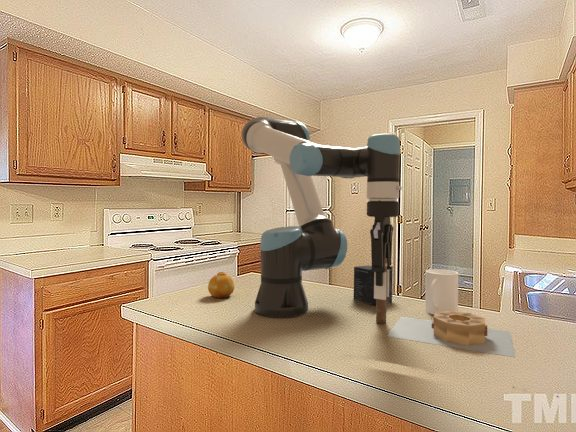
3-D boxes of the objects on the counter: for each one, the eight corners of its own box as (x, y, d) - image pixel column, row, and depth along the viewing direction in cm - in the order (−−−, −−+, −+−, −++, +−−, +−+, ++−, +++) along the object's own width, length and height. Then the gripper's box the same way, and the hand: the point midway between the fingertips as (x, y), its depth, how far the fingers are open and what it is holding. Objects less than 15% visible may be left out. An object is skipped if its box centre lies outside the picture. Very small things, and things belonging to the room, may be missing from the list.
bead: (429, 339, 79) (430, 320, 79) (435, 325, 88) (435, 308, 88) (487, 348, 74) (487, 328, 74) (487, 332, 83) (487, 315, 83)
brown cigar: (374, 324, 90) (375, 258, 89) (377, 321, 92) (378, 257, 91) (385, 326, 89) (386, 259, 88) (387, 323, 91) (388, 258, 90)
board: (386, 341, 81) (386, 336, 81) (401, 321, 95) (401, 316, 95) (514, 363, 70) (515, 357, 70) (509, 336, 84) (510, 331, 84)
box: (393, 303, 112) (393, 269, 112) (378, 307, 109) (378, 271, 108) (367, 296, 121) (367, 264, 121) (352, 299, 117) (352, 266, 117)
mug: (444, 326, 91) (445, 277, 91) (412, 318, 98) (412, 273, 97) (464, 316, 99) (464, 271, 99) (433, 309, 106) (433, 267, 105)
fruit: (224, 284, 128) (217, 266, 124) (242, 289, 123) (234, 271, 119) (208, 301, 123) (200, 282, 119) (226, 307, 118) (217, 288, 114)
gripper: (391, 200, 81) (389, 307, 82) (405, 200, 94) (403, 292, 95) (358, 200, 84) (356, 303, 85) (375, 200, 98) (374, 288, 99)
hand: (381, 297), depth 90 cm, fingers closed on brown cigar, 2 cm apart
